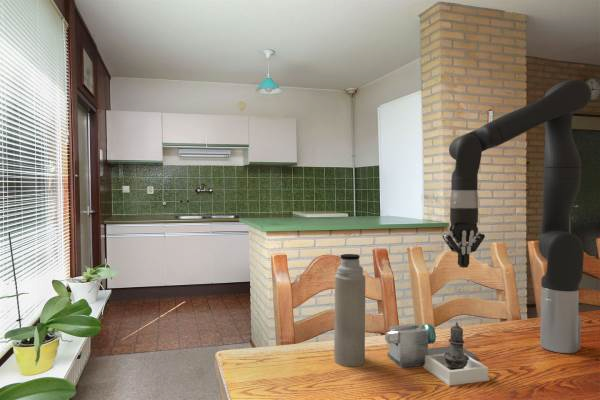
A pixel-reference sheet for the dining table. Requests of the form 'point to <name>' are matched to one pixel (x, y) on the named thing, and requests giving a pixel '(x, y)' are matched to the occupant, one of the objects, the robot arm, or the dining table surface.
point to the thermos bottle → (349, 312)
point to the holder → (459, 376)
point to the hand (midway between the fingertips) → (463, 267)
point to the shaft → (393, 336)
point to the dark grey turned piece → (456, 350)
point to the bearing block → (414, 347)
